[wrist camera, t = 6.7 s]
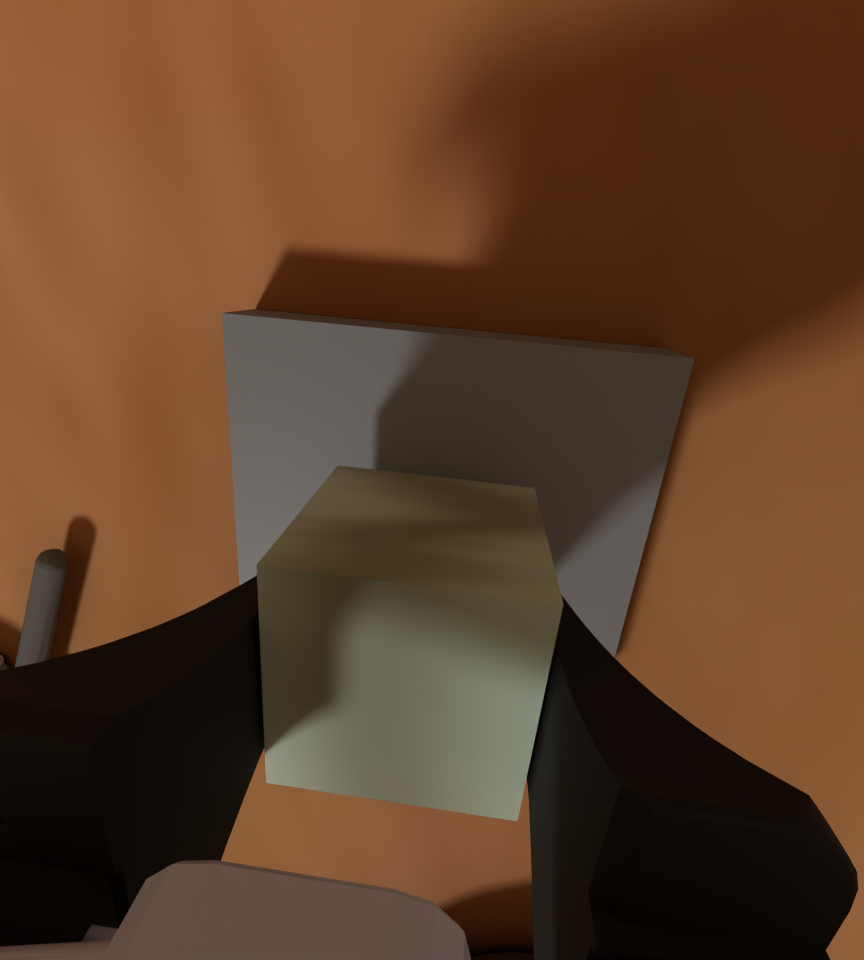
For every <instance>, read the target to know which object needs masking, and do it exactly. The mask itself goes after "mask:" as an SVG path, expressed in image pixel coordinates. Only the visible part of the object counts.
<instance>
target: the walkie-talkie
mask: <svg viewBox="0 0 864 960" xmlns="http://www.w3.org/2000/svg"><path fill="white" fill-rule="evenodd" d="M67 568H68V563H67V559H66V556H65V554H64V553H63V551H61V550H60V549H50V550H45V551H44V552H42V553H41V554H40V555H39V556H38V557H37V558H36V561H35V566H34V571H33V577H32V582H31V587H30V592H29V597H28V602H27V607H26V612H25V617H24V623H23V628H22V633H21V638H20V643H19V648H18V653H17V658H16V664H15V667H19V666H24V665H28V664H33V663H38V662H42V661H46V660H49V658H50V653H51V649H52V645H53V641H54V636H55V632H56V628H57V624H58V619H59V615H60V612H59V606H60V601H61V596H62V592H63V587H64V582H65V578H66V573H67ZM9 668H13V667H12V666H10V665H7V664H5V663H4V658H3V657H2V655H0V670H5V669H9Z"/></svg>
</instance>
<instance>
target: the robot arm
mask: <svg viewBox="0 0 864 960" xmlns="http://www.w3.org/2000/svg"><path fill="white" fill-rule="evenodd" d="M561 596H562V595H561ZM562 600H563V608H562V613H561V618H560V622H559V627H558V632H557V637H556V641H555V646H554V651H553V655H552V660H551V665H550V670H549V674H548V679H547V684H546V688H545V693H544V698H543V703H542V707H541V712H540V717H539V721H538V726H537V731H536V736H535V740H534V745H533V750H532V754H531V759H530V764H529V769H528V773H527V784H528V794H529V813H530V836H531V864H532V895H533V940H534V960H830V958H829V956H828V954H827V952H826V949H827V947H828V946H829V944H830V942H831V941H832V939H833V937H834V936H835V934H836V933H837V931H838V929H839V928H840V926H841V925H842V923H843V921H844V920H845V918H846V916H847V915H848V913H849V912H850V909H851V907H852V904H853V901H854V899H855V896H856V894H857V891H858V880H857V871H856V869H855V868H854V866H853V864H852V862H851V860H850V858H849V856H848V855H847V853H846V851H845V850H844V848H843V847H842V845H841V843H840V842H839V840H838V839H837V837H836V835H835V834H834V832H833V830H832V829H831V827H830V826H829V824H828V823H827V821H826V820H825V818H824V817H823V815H822V814H821V812H820V810H819V809H818V807H817V806H816V805H815V803H814V802H813V800H812V799H811V798H810V796H809V795H807V794H806V793H804V792H802V791H800V790H799V789H797V788H795V787H793V786H791V785H790V784H788V783H786V782H784V781H783V780H781V779H779V778H777V777H775V776H774V775H772V774H770V773H768V772H767V771H765V770H763V769H761V768H759V767H758V766H756V765H754V764H752V763H751V762H749V761H747V760H746V759H744V758H742V757H741V756H739V755H738V754H736V753H735V752H733V751H731V750H730V749H728V748H727V747H725V746H724V745H722V744H721V743H719V742H718V741H716V740H714V739H713V738H711V737H710V736H709V735H707V734H706V733H704V732H703V731H701V730H700V729H698V728H697V727H696V726H694V725H693V724H691V723H690V722H689V721H687V720H686V719H685V718H683V717H682V716H681V715H679V714H678V713H677V712H676V711H674V710H673V709H672V708H670V707H669V706H668V705H666V704H665V703H664V702H663V701H661V700H660V699H659V698H658V697H656V696H655V695H654V694H653V693H652V692H651V691H649V690H648V689H647V688H646V687H645V686H644V685H643V684H642V683H640V682H639V681H638V680H637V679H636V678H635V677H634V676H633V675H631V674H630V673H629V672H628V671H627V670H626V669H625V668H624V667H623V666H622V665H621V664H620V663H619V662H618V661H617V660H616V659H615V658H614V657H613V656H612V655H611V654H610V653H609V651H608V650H607V649H606V648H605V647H604V646H603V645H602V644H601V643H600V642H599V641H598V640H597V638H596V637H595V636H594V635H593V634H592V633H591V632H590V630H589V629H588V628H587V627H586V626H585V624H584V623H583V622H582V621H581V619H580V618H579V617H578V616H577V614H576V613H575V612H574V610H573V609H572V608H571V607H570V605H569V604H568V603H567V601H566V600H565V599H564V597H563V596H562ZM264 747H265V745H264V723H263V700H262V677H261V655H260V632H259V609H258V587H257V575H256V576H255V577H253V578H251V579H250V580H248V581H246V582H245V583H243V584H241V585H240V586H238V587H236V588H234V589H232V590H231V591H229V592H227V593H225V594H223V595H221V596H219V597H218V598H216V599H214V600H212V601H210V602H208V603H207V604H205V605H203V606H201V607H199V608H197V609H194V610H192V611H190V612H188V613H186V614H184V615H181V616H179V617H177V618H175V619H172V620H170V621H168V622H165V623H163V624H160V625H158V626H155V627H153V628H150V629H147V630H144V631H142V632H139V633H136V634H133V635H130V636H128V637H125V638H122V639H119V640H116V641H114V642H111V643H108V644H104V645H101V646H98V647H94V648H91V649H88V650H84V651H81V652H77V653H73V654H70V655H66V656H62V657H58V658H54V659H50V660H46V661H42V662H38V663H33V664H28V665H24V666H19V667H14V668H9V669H5V670H0V960H471V957H470V953H469V949H468V945H467V941H466V937H465V933H464V931H463V930H462V928H461V927H460V926H459V925H458V924H457V923H456V922H455V921H454V920H453V919H452V918H450V917H449V916H448V915H447V914H446V913H445V912H444V911H442V910H441V909H440V908H439V907H438V906H437V905H435V904H434V903H433V902H432V901H429V900H426V899H423V898H420V897H417V896H414V895H411V894H408V893H405V892H402V891H399V890H396V889H391V888H385V887H379V886H373V885H367V884H360V883H354V882H348V881H342V880H336V879H329V878H323V877H317V876H311V875H305V874H298V873H292V872H286V871H280V870H274V869H268V868H261V867H255V866H249V865H243V864H237V863H230V862H224V861H221V859H222V856H223V853H224V850H225V847H226V844H227V842H228V839H229V836H230V834H231V831H232V828H233V826H234V823H235V820H236V818H237V815H238V812H239V810H240V807H241V804H242V802H243V799H244V796H245V794H246V791H247V789H248V786H249V784H250V781H251V779H252V776H253V774H254V771H255V768H256V766H257V763H258V761H259V758H260V756H261V754H262V752H263V749H264Z"/></svg>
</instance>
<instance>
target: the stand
mask: <svg viewBox="0 0 864 960" xmlns="http://www.w3.org/2000/svg"><path fill="white" fill-rule="evenodd" d="M222 322H223V337H224V353H225V368H226V384H227V399H228V415H229V430H230V446H231V461H232V477H233V492H234V508H235V523H236V538H237V554H238V569H239V585H241V584H243V583H245V582H246V581H248V580H250V579H251V578H253V577H255V576H256V575H257V564H258V562H259V561H260V560H261V559H262V558H263V556H264V555H265V554H266V553H267V551H268V550H269V549H270V548H271V547H272V545H273V544H274V543H275V542H276V540H277V539H278V538H279V537H280V536H281V534H282V533H283V532H284V531H285V529H286V528H287V527H288V526H289V525H290V523H291V522H292V521H293V520H294V518H295V517H296V516H297V515H298V514H299V512H300V511H301V510H302V509H303V507H304V506H305V505H306V504H307V503H308V501H309V500H310V499H311V498H312V496H313V495H314V494H315V493H316V491H317V490H318V489H319V488H320V487H321V485H322V484H323V483H324V482H325V480H326V479H327V478H328V477H329V476H330V474H331V473H332V472H333V471H334V469H335V468H336V467H337V466H338V465H340V466H349V467H357V468H366V469H375V470H384V471H392V472H401V473H410V474H418V475H427V476H436V477H444V478H453V479H462V480H471V481H479V482H488V483H497V484H505V485H514V486H523V487H531V488H535V491H536V495H537V499H538V503H539V507H540V511H541V515H542V519H543V523H544V527H545V531H546V535H547V540H548V544H549V548H550V552H551V556H552V560H553V564H554V568H555V572H556V576H557V580H558V584H559V588H560V592H561V595H562V596H563V597H564V599H565V600H566V601H567V603H568V604H569V605H570V607H571V608H572V609H573V610H574V612H575V613H576V614H577V616H578V617H579V618H580V619H581V621H582V622H583V623H584V624H585V626H586V627H587V628H588V629H589V630H590V632H591V633H592V634H593V635H594V636H595V637H596V638H597V640H598V641H599V642H600V643H601V644H602V645H603V646H604V647H605V648H606V649H607V650H608V651H609V653H610V654H611V655H612V656H613V657H614V658H615V655H616V651H617V647H618V644H619V640H620V636H621V632H622V629H623V625H624V621H625V617H626V614H627V610H628V606H629V603H630V599H631V595H632V591H633V588H634V584H635V580H636V576H637V573H638V569H639V565H640V561H641V558H642V554H643V550H644V547H645V543H646V539H647V535H648V532H649V528H650V524H651V520H652V517H653V513H654V509H655V505H656V502H657V498H658V494H659V491H660V487H661V483H662V479H663V476H664V472H665V468H666V464H667V461H668V457H669V453H670V449H671V446H672V442H673V438H674V435H675V431H676V427H677V423H678V420H679V416H680V412H681V408H682V405H683V401H684V397H685V394H686V390H687V386H688V382H689V379H690V375H691V371H692V367H693V364H694V360H695V358H692V357H689V356H687V355H684V354H681V353H678V352H676V351H673V350H670V349H666V348H656V347H645V346H635V345H625V344H614V343H604V342H593V341H583V340H572V339H562V338H551V337H541V336H530V335H520V334H509V333H499V332H488V331H478V330H467V329H457V328H446V327H436V326H425V325H415V324H404V323H394V322H383V321H373V320H362V319H352V318H341V317H331V316H320V315H310V314H299V313H289V312H278V311H268V310H257V309H252V310H243V311H235V312H227V313H222Z"/></svg>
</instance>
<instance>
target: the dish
mask: <svg viewBox="0 0 864 960" xmlns="http://www.w3.org/2000/svg"><path fill="white" fill-rule="evenodd" d="M471 960H534V954H532V953H517V952H509V953H494V954H487V955H481V956H475V957H471Z"/></svg>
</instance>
